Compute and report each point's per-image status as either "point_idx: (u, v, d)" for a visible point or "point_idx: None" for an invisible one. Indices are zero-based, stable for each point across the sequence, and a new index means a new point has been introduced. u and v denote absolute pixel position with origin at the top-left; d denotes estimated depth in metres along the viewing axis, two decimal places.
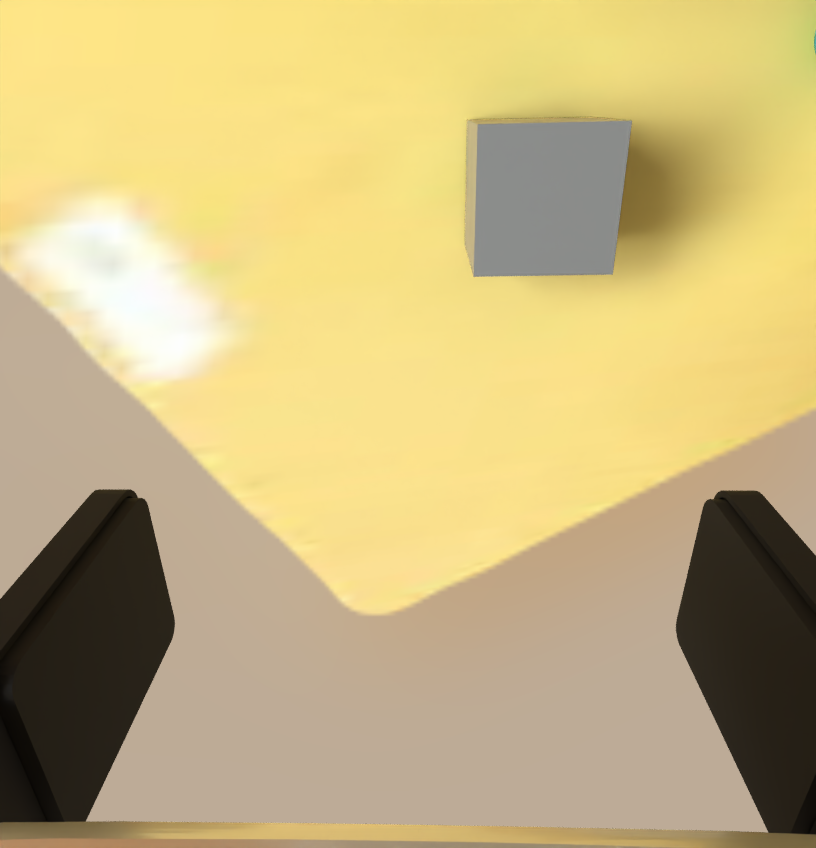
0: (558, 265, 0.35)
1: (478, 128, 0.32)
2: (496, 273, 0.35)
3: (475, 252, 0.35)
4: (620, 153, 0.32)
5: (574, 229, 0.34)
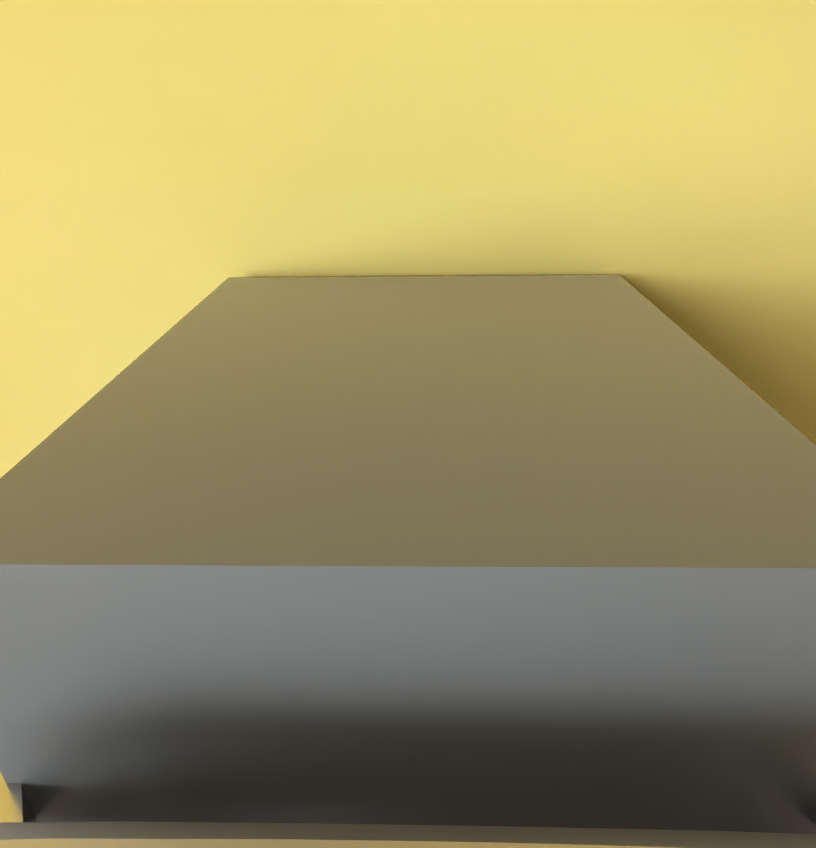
0: None
1: None
2: None
3: None
4: None
5: None
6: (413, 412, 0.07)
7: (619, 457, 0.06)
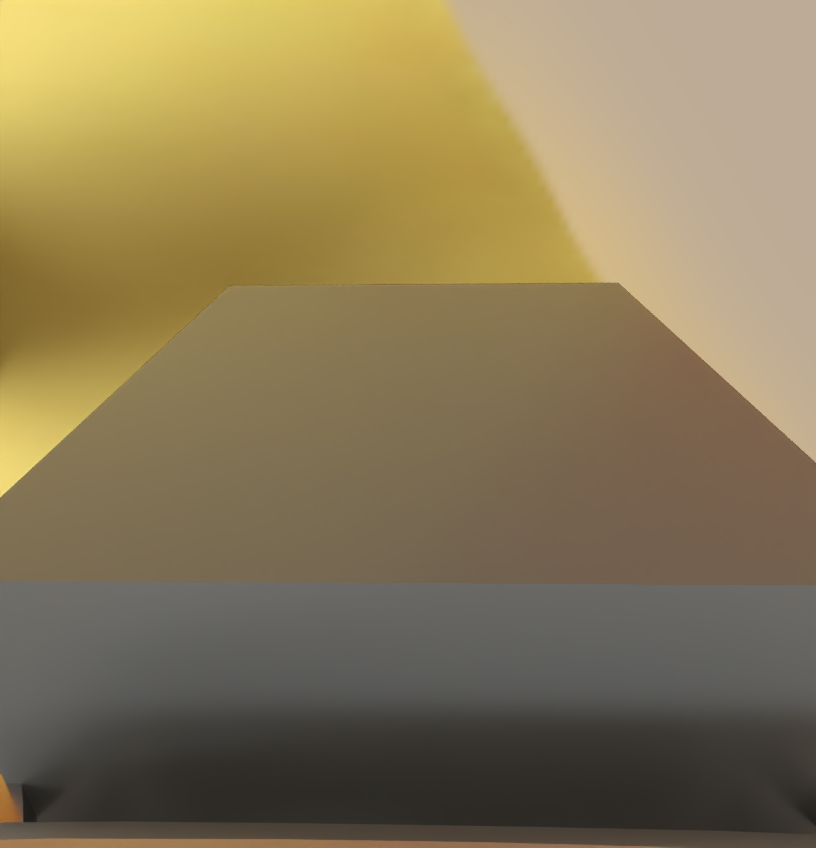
0: None
1: None
2: None
3: None
4: None
5: None
6: (413, 425, 0.07)
7: (617, 472, 0.06)
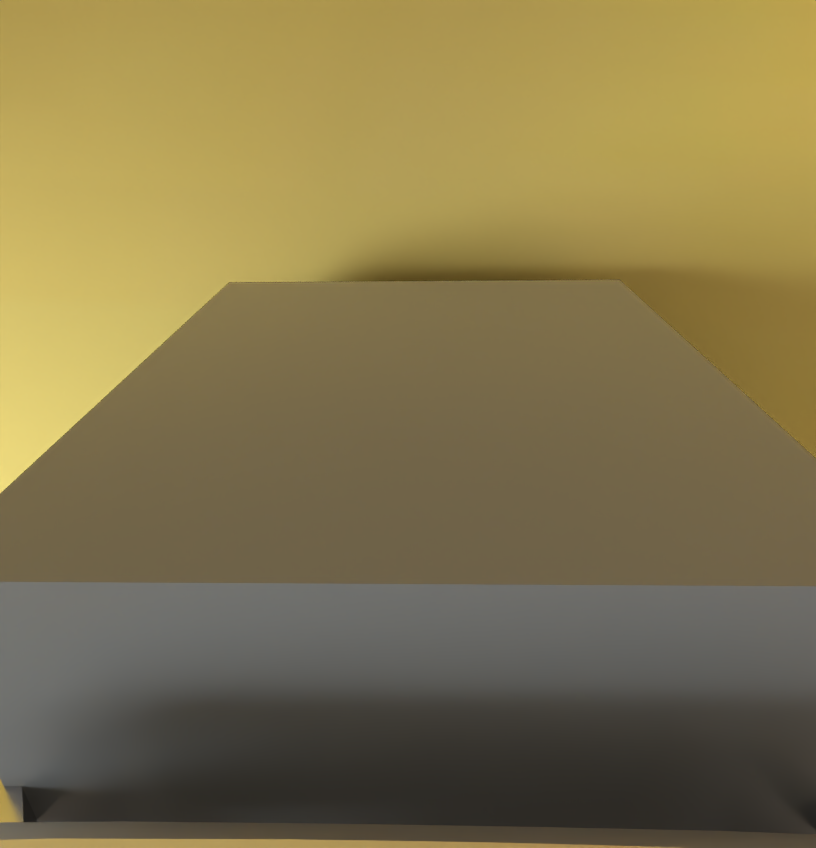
0: None
1: None
2: None
3: None
4: None
5: None
6: (413, 423, 0.07)
7: (619, 470, 0.06)
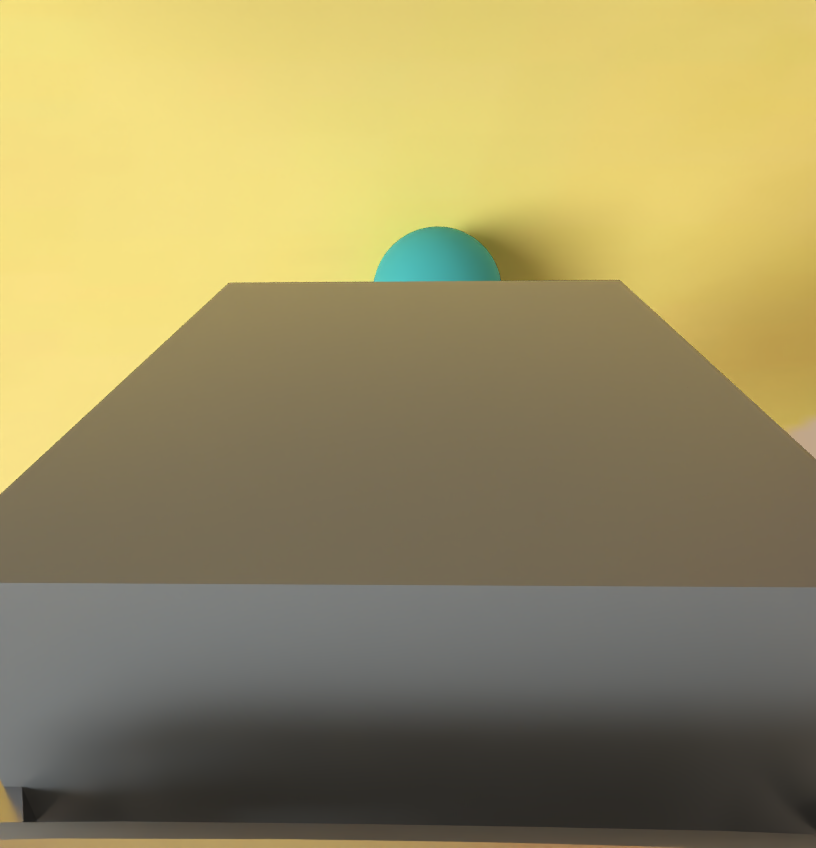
0: None
1: None
2: None
3: None
4: None
5: None
6: (413, 424, 0.07)
7: (619, 471, 0.06)
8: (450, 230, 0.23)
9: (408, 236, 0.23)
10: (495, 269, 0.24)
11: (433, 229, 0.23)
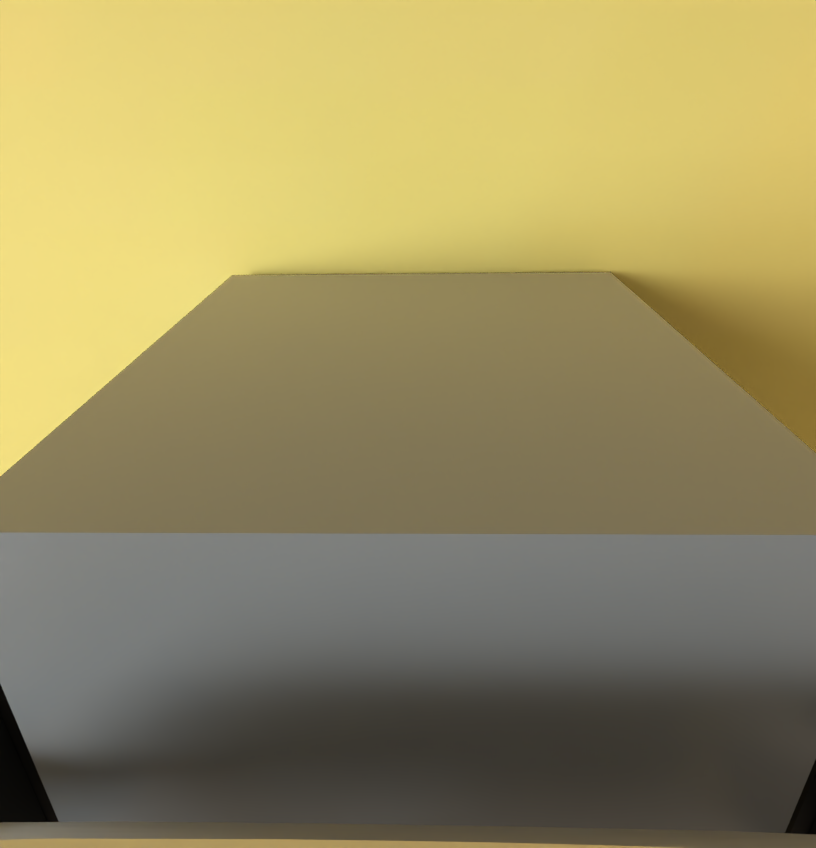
0: None
1: None
2: None
3: None
4: (809, 673, 0.06)
5: None
6: (409, 398, 0.07)
7: (601, 438, 0.06)
8: None
9: None
10: None
11: None
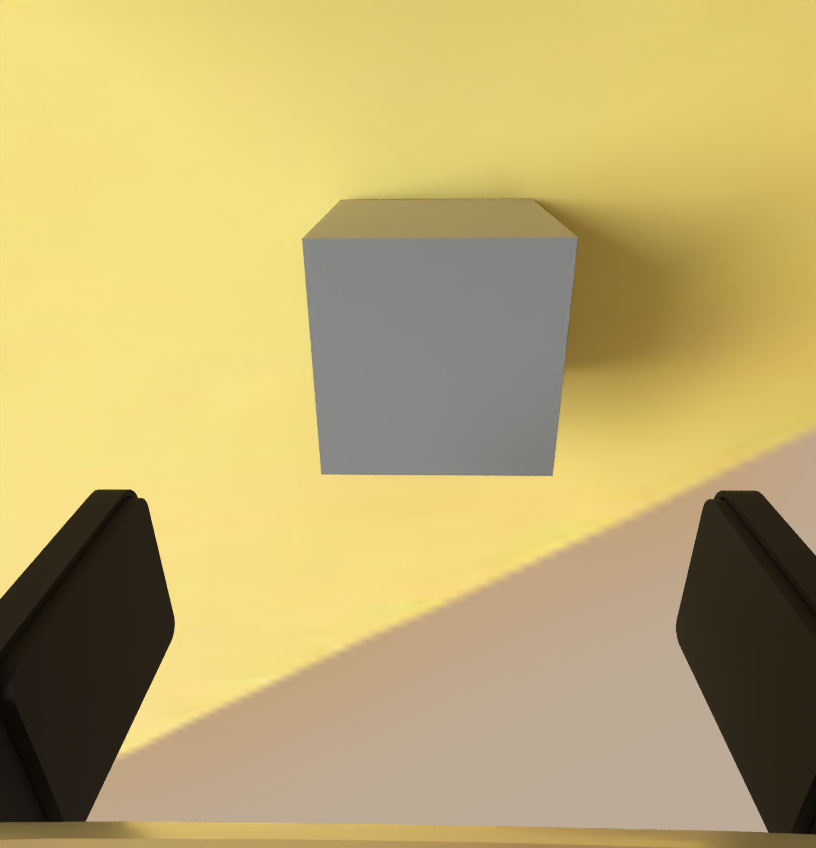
0: (461, 461, 0.21)
1: (304, 245, 0.18)
2: (358, 470, 0.21)
3: (320, 439, 0.21)
4: (559, 290, 0.18)
5: (484, 408, 0.20)
6: (435, 223, 0.20)
7: (501, 228, 0.19)
8: None
9: None
10: None
11: None
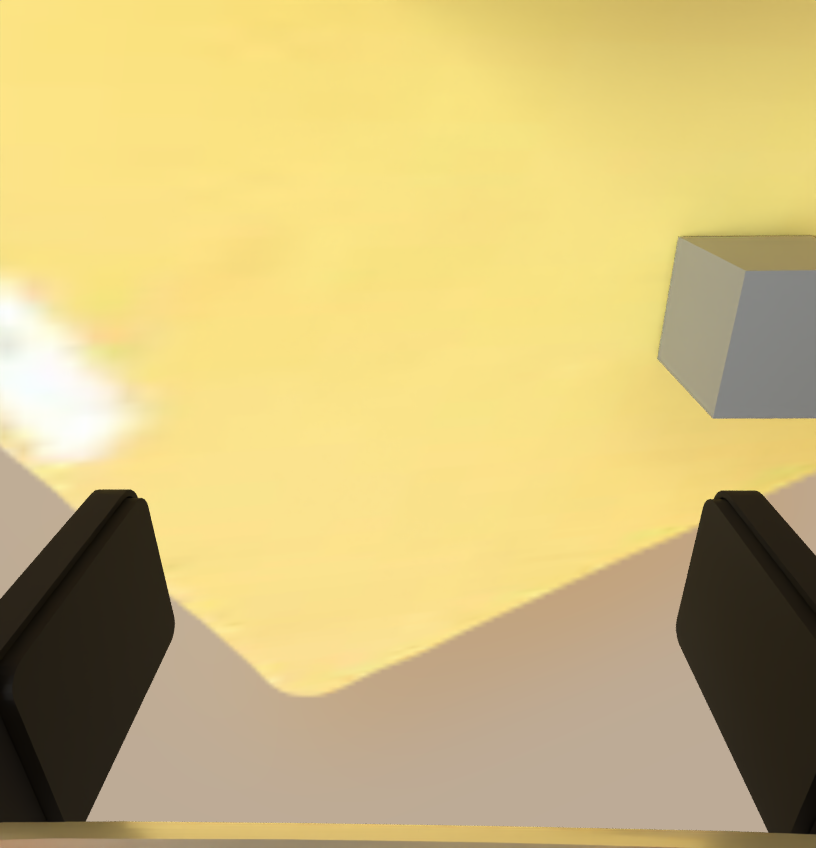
0: (806, 408, 0.33)
1: (746, 275, 0.30)
2: (737, 415, 0.33)
3: (719, 395, 0.32)
4: None
5: None
6: (798, 258, 0.32)
7: None
8: None
9: None
10: None
11: None
